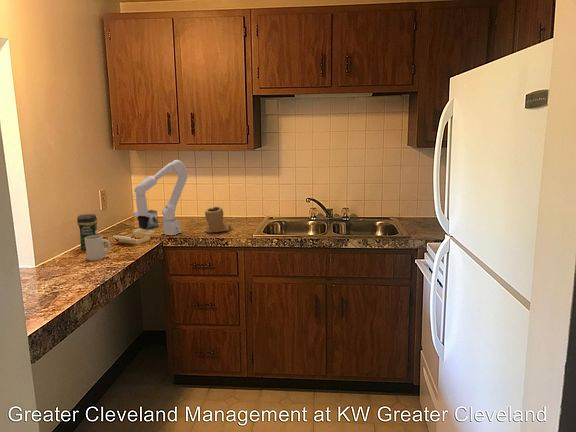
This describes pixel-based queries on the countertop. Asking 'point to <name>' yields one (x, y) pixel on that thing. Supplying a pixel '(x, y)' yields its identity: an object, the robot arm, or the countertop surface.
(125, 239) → the left flap
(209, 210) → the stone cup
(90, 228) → the coffee jar
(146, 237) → the cream shallow tray
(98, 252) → the mug
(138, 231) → the right flap
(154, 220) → the small box
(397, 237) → the countertop surface
